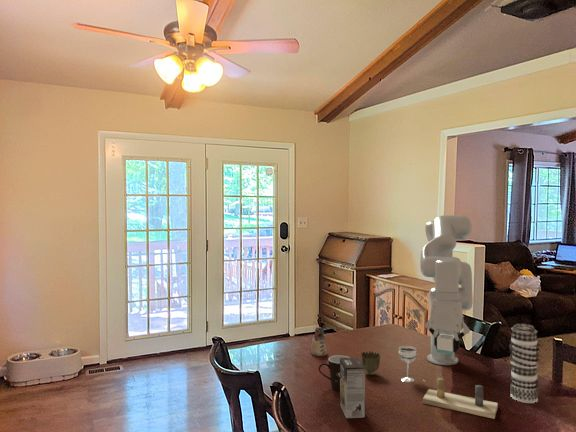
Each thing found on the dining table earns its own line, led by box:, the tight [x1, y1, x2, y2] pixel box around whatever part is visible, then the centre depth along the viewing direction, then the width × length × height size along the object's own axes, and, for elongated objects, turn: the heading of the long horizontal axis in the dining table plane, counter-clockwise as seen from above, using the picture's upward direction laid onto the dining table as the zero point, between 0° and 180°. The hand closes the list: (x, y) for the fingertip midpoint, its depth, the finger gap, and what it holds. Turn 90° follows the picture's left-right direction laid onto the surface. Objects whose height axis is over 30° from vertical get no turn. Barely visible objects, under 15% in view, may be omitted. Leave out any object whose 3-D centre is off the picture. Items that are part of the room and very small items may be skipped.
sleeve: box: [437, 334, 455, 355], centre depth 148 cm, size 5×5×5 cm
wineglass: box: [398, 345, 418, 383], centre depth 168 cm, size 7×7×12 cm
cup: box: [360, 351, 381, 377], centre depth 173 cm, size 8×7×8 cm
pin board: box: [422, 377, 499, 420], centre depth 146 cm, size 9×22×8 cm, turn 59°
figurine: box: [310, 326, 328, 357], centre depth 198 cm, size 7×7×12 cm
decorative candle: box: [508, 323, 541, 404], centre depth 151 cm, size 9×9×25 cm
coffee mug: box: [318, 355, 351, 391], centre depth 162 cm, size 12×9×10 cm
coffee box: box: [339, 357, 366, 419], centre depth 142 cm, size 9×6×16 cm
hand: (446, 349), depth 149 cm, fingers closed on sleeve, 5 cm apart
